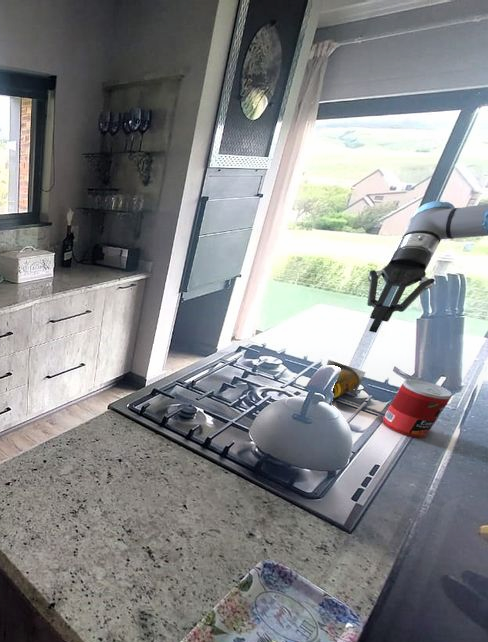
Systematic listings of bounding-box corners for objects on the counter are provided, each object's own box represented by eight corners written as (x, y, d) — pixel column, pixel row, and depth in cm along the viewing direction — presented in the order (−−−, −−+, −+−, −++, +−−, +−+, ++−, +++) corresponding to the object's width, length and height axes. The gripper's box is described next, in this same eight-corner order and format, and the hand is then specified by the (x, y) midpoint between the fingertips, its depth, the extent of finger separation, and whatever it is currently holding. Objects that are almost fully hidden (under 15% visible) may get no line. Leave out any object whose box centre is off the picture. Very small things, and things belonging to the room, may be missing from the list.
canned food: (415, 441, 90) (442, 399, 85) (373, 422, 97) (396, 382, 91) (433, 433, 93) (460, 392, 88) (391, 415, 99) (414, 376, 94)
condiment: (354, 395, 108) (330, 408, 103) (319, 382, 114) (295, 393, 110) (366, 372, 104) (341, 383, 99) (329, 359, 111) (304, 369, 106)
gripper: (383, 242, 108) (344, 315, 106) (452, 250, 100) (412, 329, 97) (376, 260, 114) (340, 329, 111) (441, 268, 105) (403, 343, 103)
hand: (373, 329), depth 104 cm, fingers closed
